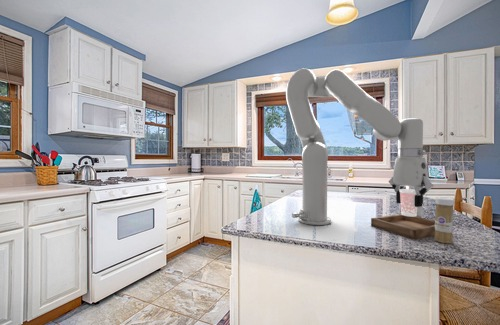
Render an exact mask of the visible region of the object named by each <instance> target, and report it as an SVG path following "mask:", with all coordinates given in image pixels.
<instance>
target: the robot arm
mask: <svg viewBox="0 0 500 325" xmlns="http://www.w3.org/2000/svg"><path fill="white" fill-rule="evenodd" d="M309 98H334V99H336V100H337V101H338V102H339V103H340V104H341V105H342V106H343V107H344V108H345V109H346V110H347V111H348V112H350V113H351V114H353V115H356V116H358V117H360V118H361V119H362V120H364V122H366V124H368V125H369V126H370V127H371V128H372V129H373V135H374V137H375V138H376V139H377V140H379V141H383V142H384V141H385V142H386V141H392V140H397V157H395V160H394V166H393V174H392V175H393V176H392V177H391V178H390V179H389V180H388V183H389V184H390V185H391V186H392V188H393V190H394V192H395V193H396V194H395V200H396V204H401V200H400V192H399V189H405V187H406V186H411V187H414V189H415V191H416V194H417V195H415V204H414V206H415V207H420V206H422V207H423V204H424V195H426V194H427V193H428V192H429V190H431V189H432V188H433V187H434V184H433V183H432V182H431V181H430V180H429V173H428V165H427V160H426V157H424V155H426V154H427V151H426V150H424V149H423V147H424V122H423V120H422V119H421V118H415V117H414V118H404V119H401V120H399V118H397V117H396V115H395V114H393V113H392V112H391V111H390V110H389V109H388V108H387V107H386V106H385V105H384V104H382V103H381V102H379V101H378V100H377V99H376V98H373V97H372V96H371V95H370V94H368V93H367V92H366V91H365V90H364V89H363V88H361V87H360V85H359V84H357V83H356V82H355V81H354V80H353V79H352V78H351V77H349V75H348V74H347V73H345V71H343V70H341V69H337V68H335V69H333V70H331V71H329V72H328V73H327V74H326V76H322V77H321V76H319V77H318V76H317V77H316V74H315V73H314V72H313V71H312V70H311V69H309V68H305V67H304V68H300V69H298V70H296V71H295V72H294V73H293V74H292V75H291V76H290V78H289V79H288V82H287V85H286V90H285V99H286V102H287V103H286V104H287V106H288V110H289V113H290V117H291V120H292V123H293V124H292V125H293V127H294V129H295V134H296V136H297V137H298V138H299V139H300V142H301V146H302V148H303V150H302V153H301V163H302V206H301V207H302V208H301V209H300V210H299V211H298V212H292V213H291V217H292V219H295V218H296V219H298V221H299V222H300V223H303V224H306V225H309V226H310V225H311V226H325V225H329V224H331V223H332V219H331V217H330V216H329V217H328V158H329V150H328V147H327V144H326V141H325V139H324V135H323V132H322V129H321V127H320V124H319V122H318V121H317V120H316V117H315V115H314V112H313V109H312V105H311V103H310V100H309Z"/></svg>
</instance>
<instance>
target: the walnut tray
mask: <svg viewBox="0 0 500 325" xmlns="http://www.w3.org/2000/svg"><path fill="white" fill-rule="evenodd" d="M370 219H371V220H370V221H371V222H370V226H371V228H372V227H373V228H375V229H379V230H381V231H386V232H388V233H391V234H395V235H396V236H401V237H404V238H407V239H411V240H413V241H414V240H419V239H424V238H428V237H435V219H434V220H433V219H428V218H423V217H416V216H415V217H410V216H404V215H402V214H401V213H398V214H392V215H385V216H384V215H383V216H379V217H378V216H377V217H371V218H370Z"/></svg>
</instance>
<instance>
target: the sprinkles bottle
mask: <svg viewBox="0 0 500 325" xmlns="http://www.w3.org/2000/svg"><path fill="white" fill-rule="evenodd" d="M454 207H455V199H454V198H452V197H442V196H437V197H436V198H435V218H434V221H435V235H434V238H433V239H434V241H436V242H438V243H443V244H453V232H454Z"/></svg>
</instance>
